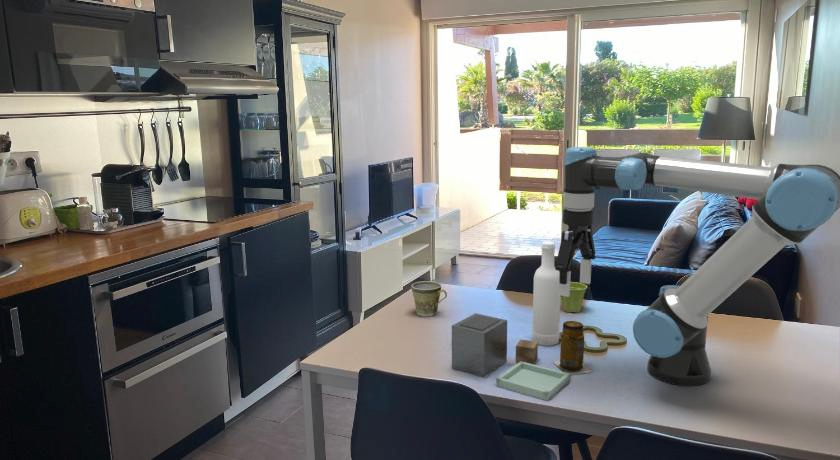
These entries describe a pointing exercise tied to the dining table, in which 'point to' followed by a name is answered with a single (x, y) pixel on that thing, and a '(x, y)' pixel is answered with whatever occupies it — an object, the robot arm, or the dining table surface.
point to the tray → (533, 380)
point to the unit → (479, 344)
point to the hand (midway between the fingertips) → (574, 289)
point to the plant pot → (574, 297)
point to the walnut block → (527, 351)
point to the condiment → (572, 349)
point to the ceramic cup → (427, 297)
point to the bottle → (546, 299)
